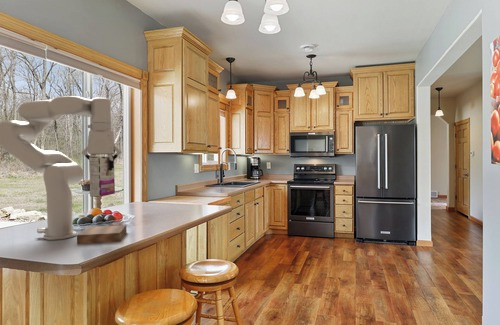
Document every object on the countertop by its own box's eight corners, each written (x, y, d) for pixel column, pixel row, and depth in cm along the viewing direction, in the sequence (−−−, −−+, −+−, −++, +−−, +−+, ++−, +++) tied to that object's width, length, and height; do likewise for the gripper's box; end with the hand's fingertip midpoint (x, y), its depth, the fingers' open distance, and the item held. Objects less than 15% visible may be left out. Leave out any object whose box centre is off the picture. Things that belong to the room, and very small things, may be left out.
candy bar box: (104, 193, 147) (104, 156, 146) (115, 193, 146) (114, 156, 146) (88, 196, 136) (88, 156, 135) (100, 197, 135) (99, 156, 134)
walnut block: (77, 245, 132) (76, 235, 132) (88, 235, 147) (88, 226, 147) (119, 242, 135) (119, 232, 135) (126, 233, 150) (126, 225, 150)
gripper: (76, 126, 135) (77, 171, 135) (121, 127, 138) (122, 170, 138) (81, 128, 142) (82, 170, 142) (124, 128, 145) (125, 169, 146)
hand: (102, 169), depth 140 cm, fingers closed on candy bar box, 6 cm apart
